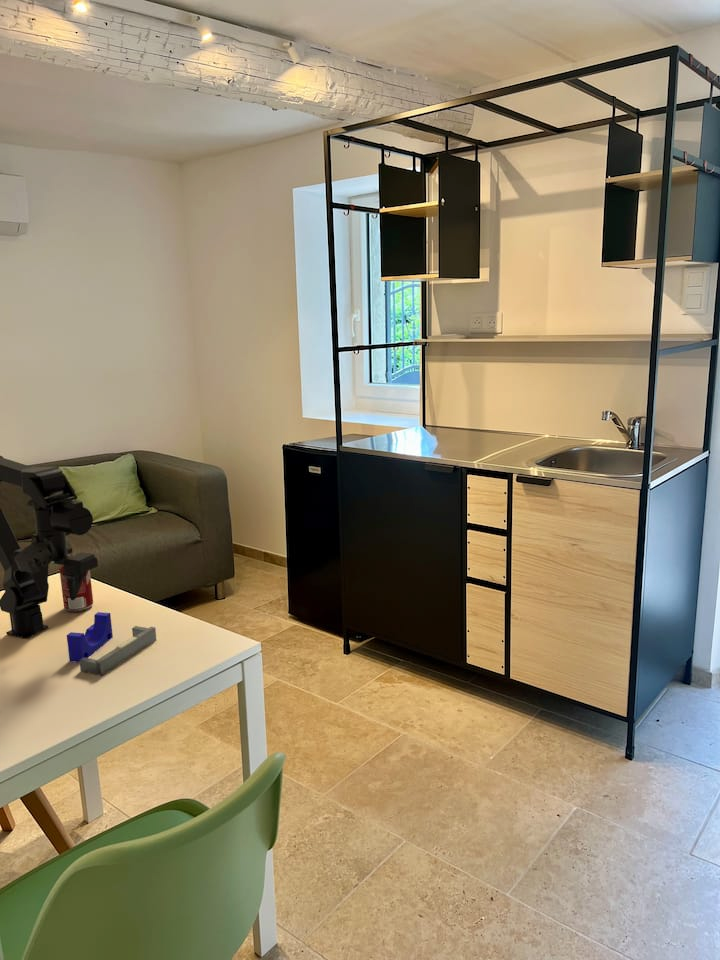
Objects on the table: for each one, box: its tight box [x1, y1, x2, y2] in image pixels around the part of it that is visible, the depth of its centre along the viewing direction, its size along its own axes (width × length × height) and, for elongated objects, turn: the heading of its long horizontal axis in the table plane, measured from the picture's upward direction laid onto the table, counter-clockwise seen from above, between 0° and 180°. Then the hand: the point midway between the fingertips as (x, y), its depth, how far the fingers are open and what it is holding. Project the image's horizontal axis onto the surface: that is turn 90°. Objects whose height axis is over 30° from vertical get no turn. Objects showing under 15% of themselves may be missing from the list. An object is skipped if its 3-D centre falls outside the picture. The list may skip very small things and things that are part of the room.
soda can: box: [59, 565, 94, 613], centre depth 178 cm, size 7×7×12 cm
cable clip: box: [66, 611, 114, 663], centre depth 157 cm, size 12×4×6 cm, turn 169°
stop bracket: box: [79, 625, 157, 677], centre depth 154 cm, size 5×17×3 cm, turn 158°
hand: (58, 596), depth 157 cm, fingers open, 8 cm apart
